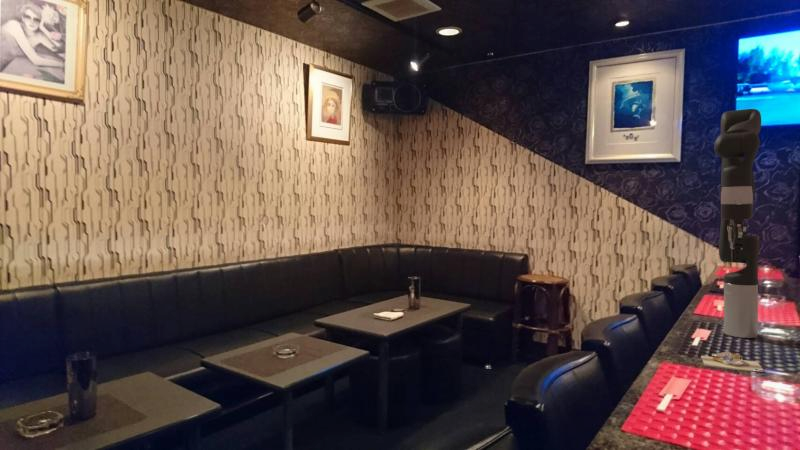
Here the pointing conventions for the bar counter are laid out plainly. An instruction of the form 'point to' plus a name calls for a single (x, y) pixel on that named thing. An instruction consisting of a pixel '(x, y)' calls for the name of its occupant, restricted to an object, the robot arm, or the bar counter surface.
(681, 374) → the bar counter surface
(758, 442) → the bar counter surface
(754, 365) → the birch board
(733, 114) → the robot arm
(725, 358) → the ring
